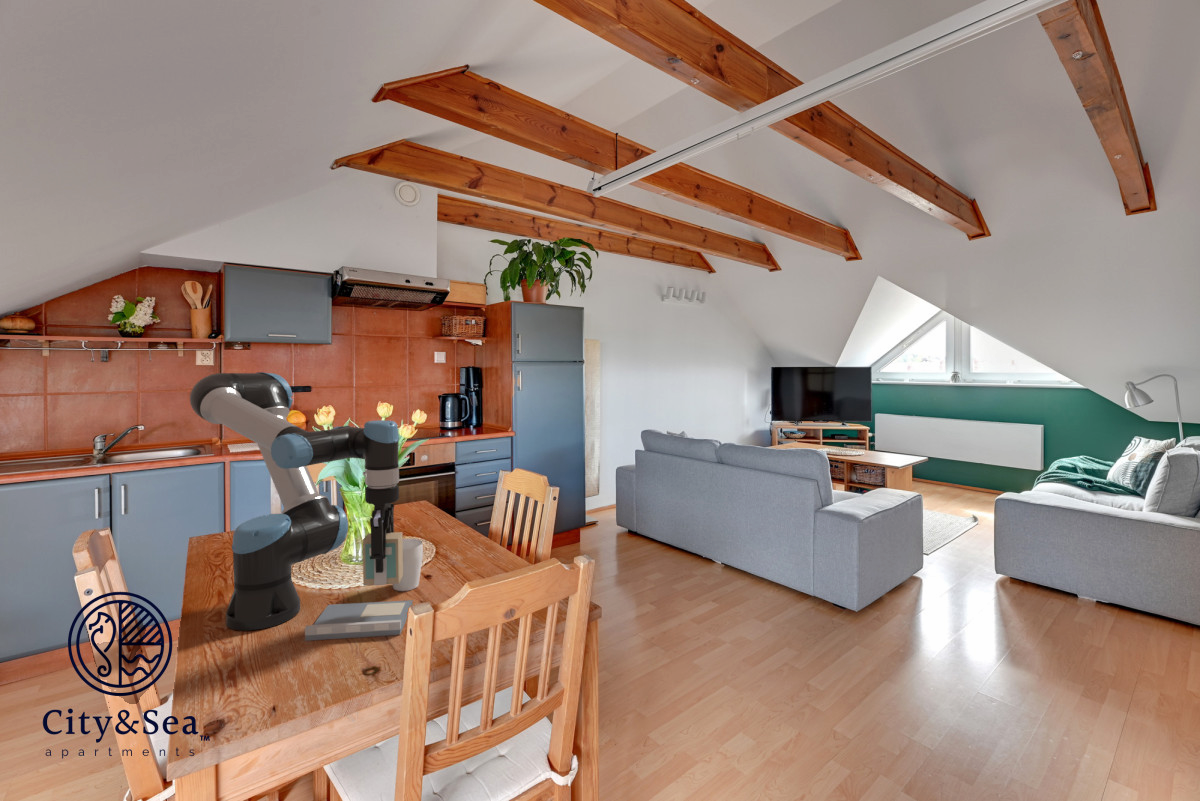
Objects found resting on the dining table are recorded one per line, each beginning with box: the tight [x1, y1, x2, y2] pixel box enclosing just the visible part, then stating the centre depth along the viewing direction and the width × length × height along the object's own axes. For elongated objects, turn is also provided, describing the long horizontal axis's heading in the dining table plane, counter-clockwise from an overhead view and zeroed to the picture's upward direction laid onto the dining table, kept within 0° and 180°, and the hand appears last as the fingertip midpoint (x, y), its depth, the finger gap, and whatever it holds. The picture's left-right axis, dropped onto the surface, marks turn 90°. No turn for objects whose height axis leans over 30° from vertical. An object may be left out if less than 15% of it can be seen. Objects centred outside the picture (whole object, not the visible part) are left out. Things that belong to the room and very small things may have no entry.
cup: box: [392, 538, 424, 592], centre depth 145 cm, size 9×9×12 cm
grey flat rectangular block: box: [304, 599, 414, 642], centre depth 125 cm, size 20×15×3 cm
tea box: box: [362, 531, 404, 586], centre depth 128 cm, size 8×5×11 cm, turn 99°
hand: (383, 579), depth 128 cm, fingers closed on tea box, 5 cm apart
